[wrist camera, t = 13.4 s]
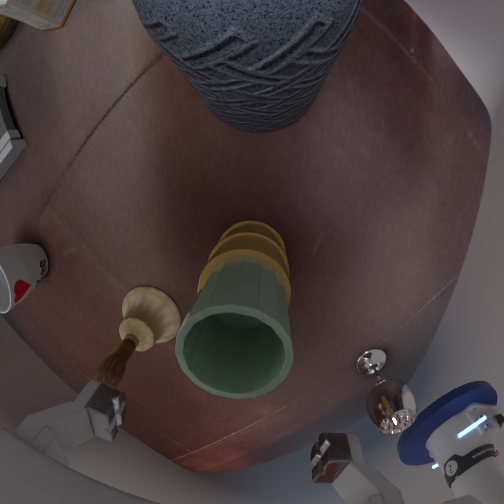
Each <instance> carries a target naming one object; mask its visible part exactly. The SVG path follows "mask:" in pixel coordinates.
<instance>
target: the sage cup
mask: <svg viewBox="0 0 504 504" xmlns="http://www.w3.org/2000/svg"><path fill="white" fill-rule="evenodd" d="M175 354H176V356H177V359H178V361H179V364H180V366H181V369H182V371H183V372H184V373H185V374H186V375H187V376H188V377H189V378H190V379H191V380H192V381H193V382H194V383H195V384H196V385H197V386H199V387H201V388H203V389H204V390H206V391H208V392H210V393H212V394H214V395H218V396H223V397H228V398H233V399H239V398H251V397H257V396H259V395H262V394H264V393H267V392H269V391H271V390H273V389H275V388H276V387H277V386H278V385H279V384H280V383H281V382H282V381H283V380H284V379H285V378H286V377H287V376H288V374H289V372H290V369H291V366H292V363H293V361H294V352H293V344H292V336H291V328H290V320H289V312H288V304H287V297H286V291H285V285H284V283H283V280H282V278H281V276H280V275H279V273H278V272H277V271H276V270H275V269H274V268H273V267H272V266H271V265H269V264H268V263H266V262H265V261H263V260H260V259H258V258H254V257H249V256H238V257H233V258H229V259H226V260H224V261H222V262H221V263H219V264H218V265H216V266H215V267H214V268H213V269H212V271H211V272H210V273H209V275H208V277H207V278H206V280H205V281H204V283H203V285H202V287H201V289H200V291H199V292H198V294H197V296H196V298H195V300H194V302H193V304H192V306H191V308H190V310H189V312H188V314H187V316H186V317H185V319H184V321H183V323H182V325H181V327H180V329H179V331H178V333H177V337H176V348H175Z"/></svg>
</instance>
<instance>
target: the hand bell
mask: <svg viewBox="0 0 504 504" xmlns="http://www.w3.org/2000/svg"><path fill="white" fill-rule="evenodd" d="M122 313H123V317H124V319H123V321H122V323H121V325H120V329H119V331H120V336H121V338H122V340H123V341H122V343H121V344H120V346H119V347H118V349H117V350H116V352H114V353H113V354H111V355H110V356H108V357H107V358H105V359H104V360H103V361H102V362H101V363H100V364H99V366H98V367H97V369H96V370H95V373H94V376H93V380H95V381H98V382H100V383H103V384H105V385H107V386H110V387H112V388H116V387H117V386H118V384H119V383H120V381H121V379H122V377H123V375H124V372H125V368H126V363H127V360H128V359H129V357H130V356H131V355H132V353H133V352H134V351H135V350H137V351H145V350H147V349H149V348H150V347H152V345H153V344H154V343H163V342H167V341H169V340H171V339H172V338H174V337H175V336H176V335H177V333H178V331H179V329H180V326H181V316H180V312H179V309H178V307H177V305H176V304H175V302H174V301H173V300H172V299H171V298H170V297H169V296H168V295H167V294H166V293H164V292H163V291H161V290H160V289H157V288H154V287H150V286H140V287H136V288H134V289H132V290H131V291H130V292H129V293H128V294H127V295H126V296H125V298H124V301H123V306H122Z"/></svg>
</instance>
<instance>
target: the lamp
mask: <svg viewBox="0 0 504 504" xmlns="http://www.w3.org/2000/svg"><path fill="white" fill-rule="evenodd" d="M18 22H19V20H16V19H14V18H11V17H8V16H5V15H3V14H0V50H1V49H2V48H3V47H4V45H5V44H6V43H7V42H8V40H9V39H10V37H11V36H12V34H13V32H14V31H15V29H16V27H17V24H18Z"/></svg>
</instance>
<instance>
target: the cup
mask: <svg viewBox="0 0 504 504" xmlns="http://www.w3.org/2000/svg"><path fill="white" fill-rule="evenodd" d="M47 270H48V260H47V256H46V254H45V252H44V250H43V249H42V248H41V247H40V246H39V245H37V244H24V243H22V244H15V245H9V246H4V247H1V248H0V313H6V312H8V311H9V310H10V309H11V308H13V307H14V306H15V305H16V304H18V303H19V302H20V301H21V300H23V299H24V298H25V297H26V296H27V295H28V294H29V293H30V292H31V291H32V290H33V289H34V288H35V287H36V286H37V285H38V284H39V283H40V281H41V280H42V278H43V277H44V276H45V274H46V273H47Z"/></svg>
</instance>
